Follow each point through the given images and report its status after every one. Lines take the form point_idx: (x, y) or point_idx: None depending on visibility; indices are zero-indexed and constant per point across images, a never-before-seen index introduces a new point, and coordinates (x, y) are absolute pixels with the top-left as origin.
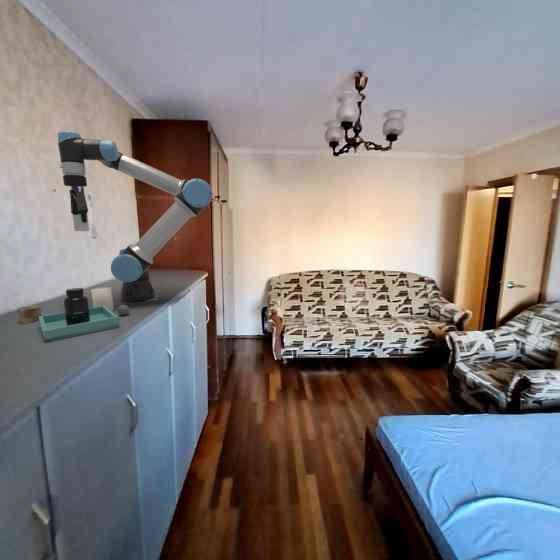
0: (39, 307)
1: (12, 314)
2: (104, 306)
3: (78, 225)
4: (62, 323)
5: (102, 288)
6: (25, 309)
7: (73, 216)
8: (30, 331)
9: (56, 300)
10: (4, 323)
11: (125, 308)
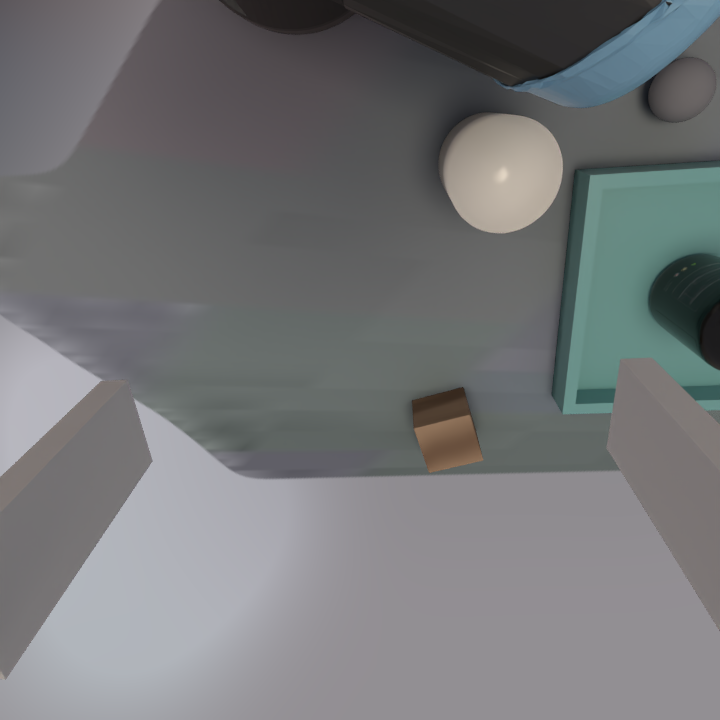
0: (470, 416)
1: (286, 460)
2: (609, 178)
3: (97, 468)
4: (627, 339)
5: (505, 170)
6: (468, 453)
7: (26, 642)
8: (594, 418)
9: (98, 328)
10: (413, 475)
11: (715, 82)
